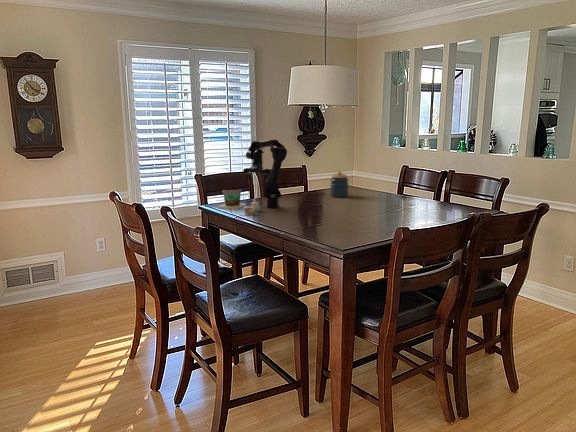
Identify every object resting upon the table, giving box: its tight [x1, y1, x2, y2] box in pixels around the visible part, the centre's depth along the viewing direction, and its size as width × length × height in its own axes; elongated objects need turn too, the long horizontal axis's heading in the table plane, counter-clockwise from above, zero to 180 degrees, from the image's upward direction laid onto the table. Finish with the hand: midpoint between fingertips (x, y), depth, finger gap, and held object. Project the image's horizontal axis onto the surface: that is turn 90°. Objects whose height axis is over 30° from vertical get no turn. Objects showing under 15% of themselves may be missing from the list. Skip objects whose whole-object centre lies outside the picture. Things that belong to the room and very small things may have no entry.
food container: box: [221, 188, 242, 206], centre depth 296 cm, size 12×6×10 cm, turn 100°
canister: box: [329, 171, 349, 198], centre depth 331 cm, size 13×13×18 cm
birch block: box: [244, 205, 256, 216], centre depth 273 cm, size 4×4×4 cm
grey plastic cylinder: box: [250, 201, 260, 213], centre depth 284 cm, size 5×5×5 cm
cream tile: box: [217, 202, 247, 210], centre depth 298 cm, size 13×14×1 cm
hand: (258, 183), depth 305 cm, fingers open, 9 cm apart
